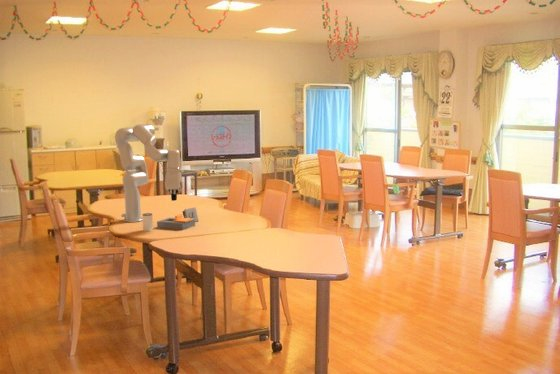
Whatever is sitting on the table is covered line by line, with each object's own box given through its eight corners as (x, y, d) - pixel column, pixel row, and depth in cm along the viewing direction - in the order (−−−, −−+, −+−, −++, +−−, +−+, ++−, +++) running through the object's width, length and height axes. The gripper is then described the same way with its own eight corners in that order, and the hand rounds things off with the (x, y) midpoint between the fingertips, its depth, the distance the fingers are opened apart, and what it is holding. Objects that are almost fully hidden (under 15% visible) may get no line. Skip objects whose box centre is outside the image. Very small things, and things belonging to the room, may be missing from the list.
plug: (143, 230, 361) (142, 214, 359) (147, 229, 364) (146, 212, 363) (148, 231, 359) (148, 214, 358) (152, 229, 363) (152, 213, 361)
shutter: (173, 221, 366) (173, 216, 366) (182, 218, 374) (181, 213, 374) (185, 222, 363) (184, 217, 363) (193, 219, 371) (193, 214, 371)
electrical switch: (188, 224, 381) (186, 209, 380) (182, 223, 384) (181, 209, 383) (199, 221, 388) (197, 207, 387) (193, 221, 391) (192, 207, 391)
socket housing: (157, 227, 369) (157, 221, 368) (170, 223, 381) (170, 217, 381) (182, 230, 361) (182, 223, 361) (195, 225, 374) (194, 219, 374)
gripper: (159, 170, 367) (160, 200, 369) (180, 171, 361) (181, 202, 363) (166, 169, 373) (167, 198, 376) (187, 170, 368) (187, 200, 370)
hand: (174, 200), depth 370 cm, fingers closed
